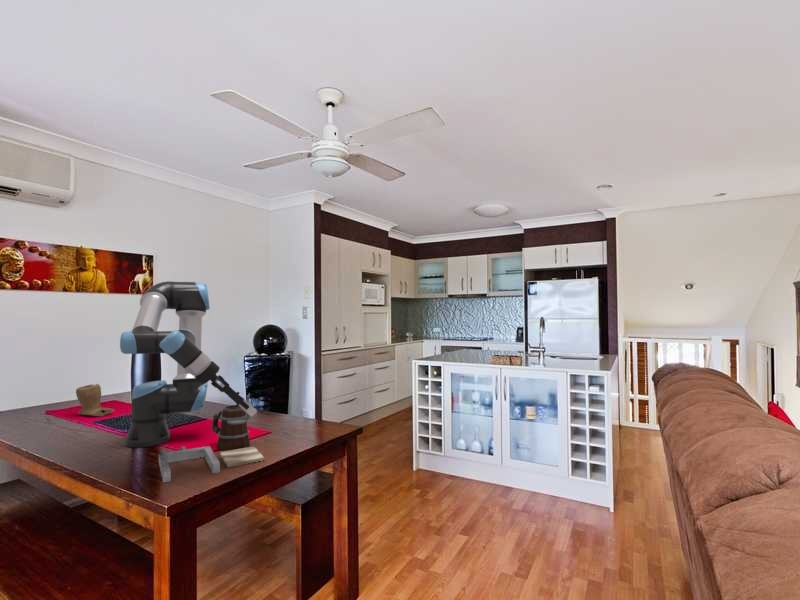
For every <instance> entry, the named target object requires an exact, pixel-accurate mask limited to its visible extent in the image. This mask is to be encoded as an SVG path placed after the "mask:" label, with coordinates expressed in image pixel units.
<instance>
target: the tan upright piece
mask: <svg viewBox="0 0 800 600" xmlns="http://www.w3.org/2000/svg"><path fill="white" fill-rule="evenodd" d="M75 395H76V398H77V400H78V402H79V404H80V406H81V409H80V410H79V411H78V412H77V414H78V415H83V416H93V417H104V416H107V415H110V414H112V413H113V412H115V409H114V408H109V407H102V406H101V399H102V398H101V397H102V388H101V385H100V384H99V383H96V384H86V385H82V386H79V387H77V388H76V390H75Z"/></svg>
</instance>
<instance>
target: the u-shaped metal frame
mask: <svg viewBox="0 0 800 600" xmlns="http://www.w3.org/2000/svg"><path fill="white" fill-rule="evenodd" d="M200 457H201V458H204V459H205V461H206V464H207V465H208V467H209V469H210V470H211V473H212V474H218V473H221V472H220V471H221V462H220V461H219V459H218V458H217V456H216V454H215V453H214V451H213V450H212V448H211V446H210V445H208V446H202V447H194V448H193V447H192V448H188V449H187V447H186V446H180V449H179V450H174V451H168V452H162V453H158V465H159V470H160V476H161V479H162V483H163V484H164V483H170V482H171V481H172V480H171V479H172V478H171V477H172V475H171V473H172V471H171V467H170V464H171V463H175V462H182V461H188V460H194V459H199V458H200Z"/></svg>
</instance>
